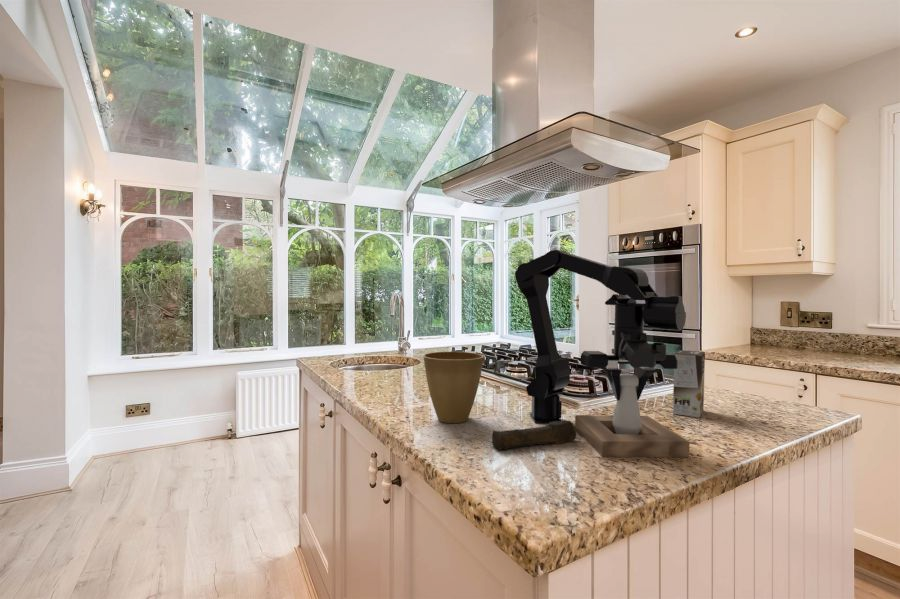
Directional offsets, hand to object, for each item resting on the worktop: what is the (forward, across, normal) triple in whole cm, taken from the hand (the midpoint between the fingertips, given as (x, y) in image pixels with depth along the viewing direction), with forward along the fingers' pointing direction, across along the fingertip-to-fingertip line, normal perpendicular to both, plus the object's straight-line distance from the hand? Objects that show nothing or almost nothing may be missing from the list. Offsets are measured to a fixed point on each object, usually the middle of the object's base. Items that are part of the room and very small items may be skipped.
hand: (627, 399), depth 90 cm
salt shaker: (+8, 0, 0) cm, 8 cm away
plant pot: (+9, -37, +15) cm, 41 cm away
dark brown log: (+9, -20, -2) cm, 22 cm away
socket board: (+9, 0, 0) cm, 9 cm away
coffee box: (+9, +26, +22) cm, 35 cm away
